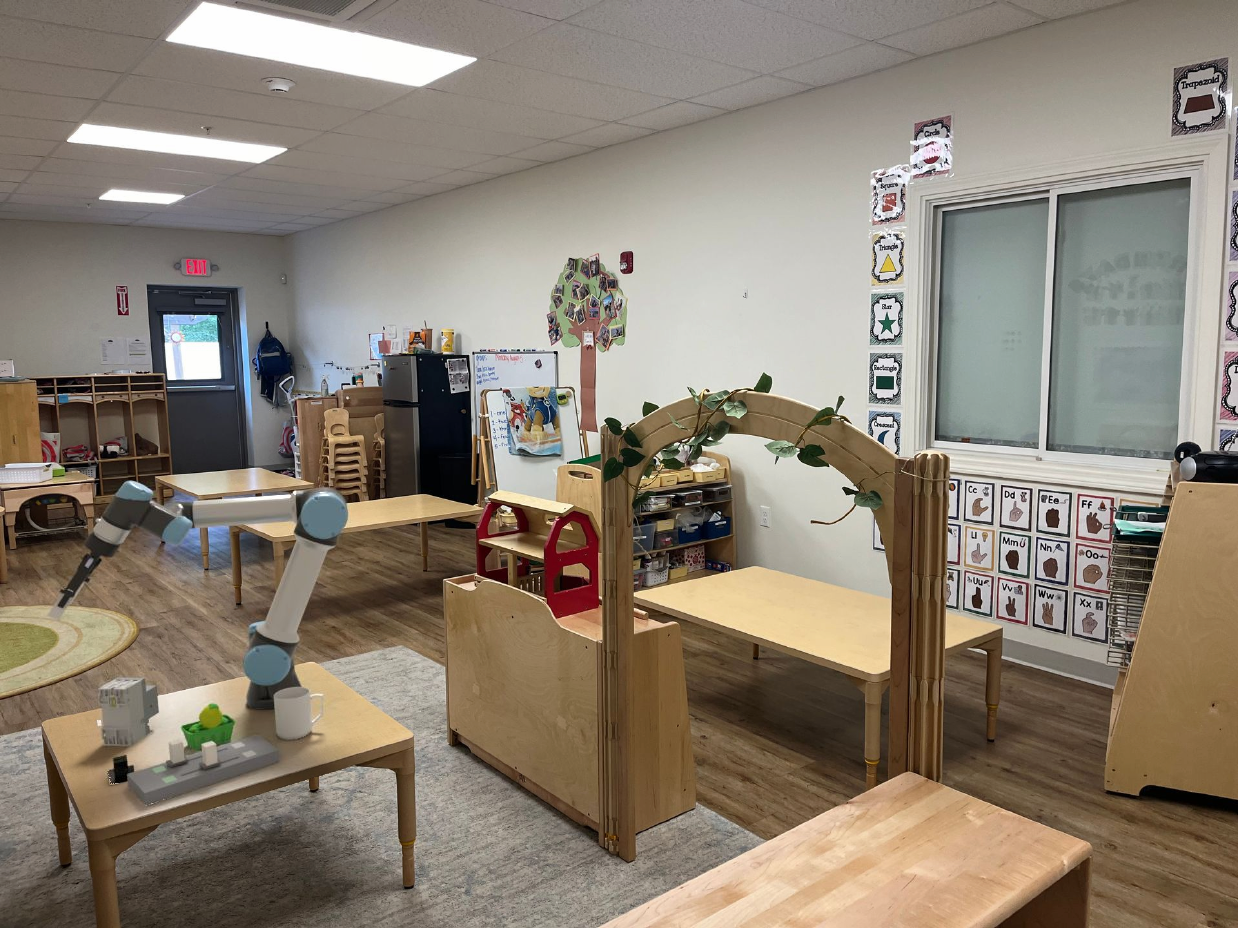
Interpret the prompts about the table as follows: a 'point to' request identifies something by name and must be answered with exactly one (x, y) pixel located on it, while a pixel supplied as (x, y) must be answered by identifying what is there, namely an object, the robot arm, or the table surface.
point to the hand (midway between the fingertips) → (59, 609)
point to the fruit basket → (209, 728)
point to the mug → (294, 712)
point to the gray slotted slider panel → (202, 770)
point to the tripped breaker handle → (209, 755)
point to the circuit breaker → (126, 710)
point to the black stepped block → (120, 770)
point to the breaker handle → (176, 753)
